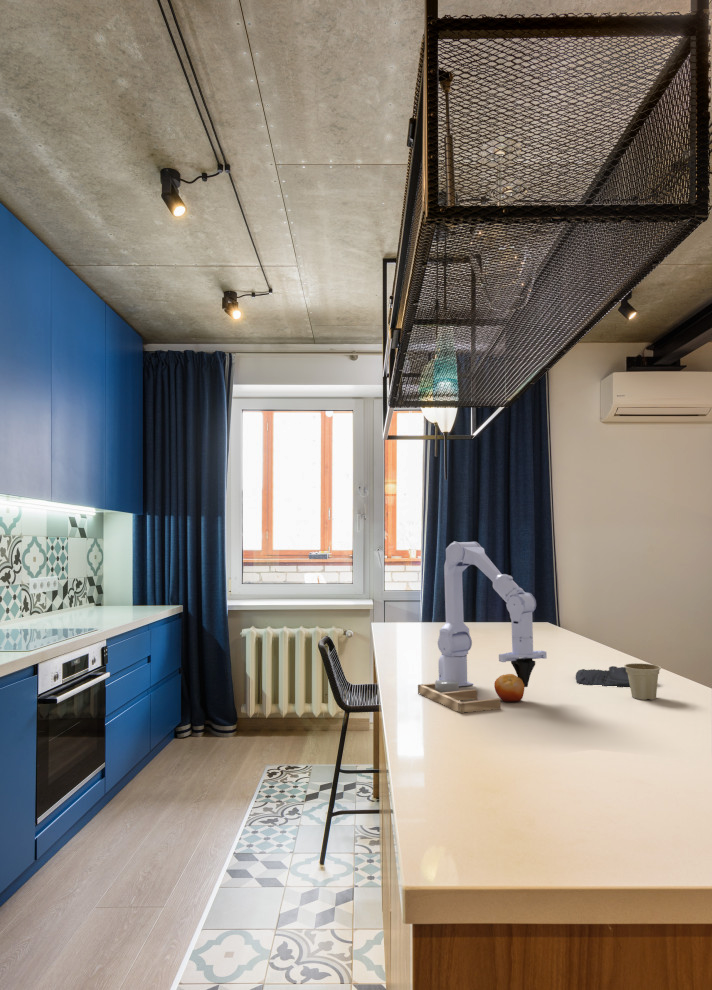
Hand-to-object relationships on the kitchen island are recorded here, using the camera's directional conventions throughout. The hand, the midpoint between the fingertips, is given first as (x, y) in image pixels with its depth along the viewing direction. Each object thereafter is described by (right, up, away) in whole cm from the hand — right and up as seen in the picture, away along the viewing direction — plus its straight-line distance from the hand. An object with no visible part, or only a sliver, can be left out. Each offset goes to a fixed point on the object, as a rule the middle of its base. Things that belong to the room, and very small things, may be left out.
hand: (523, 686), depth 182 cm
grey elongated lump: (+33, -5, +21) cm, 39 cm away
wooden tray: (-19, -4, -1) cm, 19 cm away
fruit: (-4, -4, -2) cm, 6 cm away
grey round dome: (-21, -4, +4) cm, 22 cm away
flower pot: (+33, -3, 0) cm, 34 cm away
